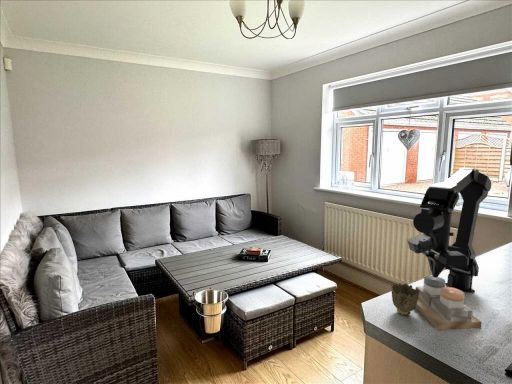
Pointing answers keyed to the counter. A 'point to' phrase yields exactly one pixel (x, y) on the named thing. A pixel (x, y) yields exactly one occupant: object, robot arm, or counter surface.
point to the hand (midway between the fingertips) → (434, 277)
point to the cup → (404, 298)
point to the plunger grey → (433, 285)
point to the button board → (444, 313)
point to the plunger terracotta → (452, 298)
